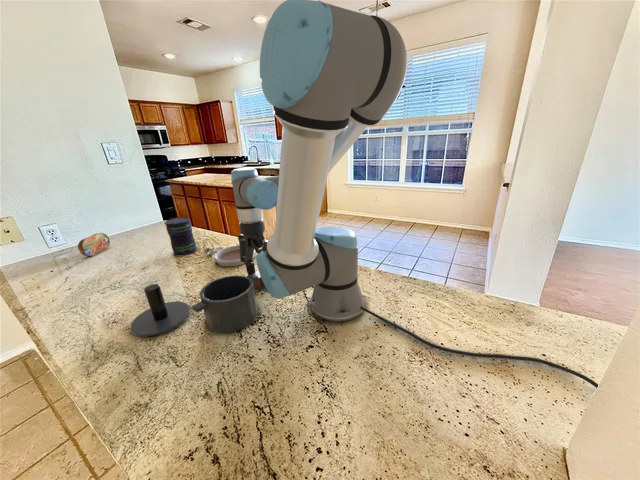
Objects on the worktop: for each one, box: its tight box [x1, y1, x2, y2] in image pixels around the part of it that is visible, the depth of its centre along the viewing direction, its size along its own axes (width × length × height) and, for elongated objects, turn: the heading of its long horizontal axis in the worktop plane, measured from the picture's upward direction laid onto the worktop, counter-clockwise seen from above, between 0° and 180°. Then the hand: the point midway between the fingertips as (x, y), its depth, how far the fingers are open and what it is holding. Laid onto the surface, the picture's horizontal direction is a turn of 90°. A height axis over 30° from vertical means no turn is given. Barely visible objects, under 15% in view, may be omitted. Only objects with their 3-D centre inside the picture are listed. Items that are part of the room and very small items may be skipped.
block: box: [253, 270, 266, 291], centre depth 88 cm, size 4×4×4 cm
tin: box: [77, 232, 111, 257], centre depth 125 cm, size 15×3×8 cm, turn 179°
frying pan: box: [205, 244, 257, 267], centre depth 114 cm, size 17×3×28 cm
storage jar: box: [164, 216, 198, 257], centre depth 119 cm, size 10×10×15 cm
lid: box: [130, 283, 191, 338], centre depth 72 cm, size 15×15×11 cm
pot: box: [191, 274, 259, 334], centre depth 72 cm, size 14×19×10 cm
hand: (261, 284), depth 89 cm, fingers open, 8 cm apart
